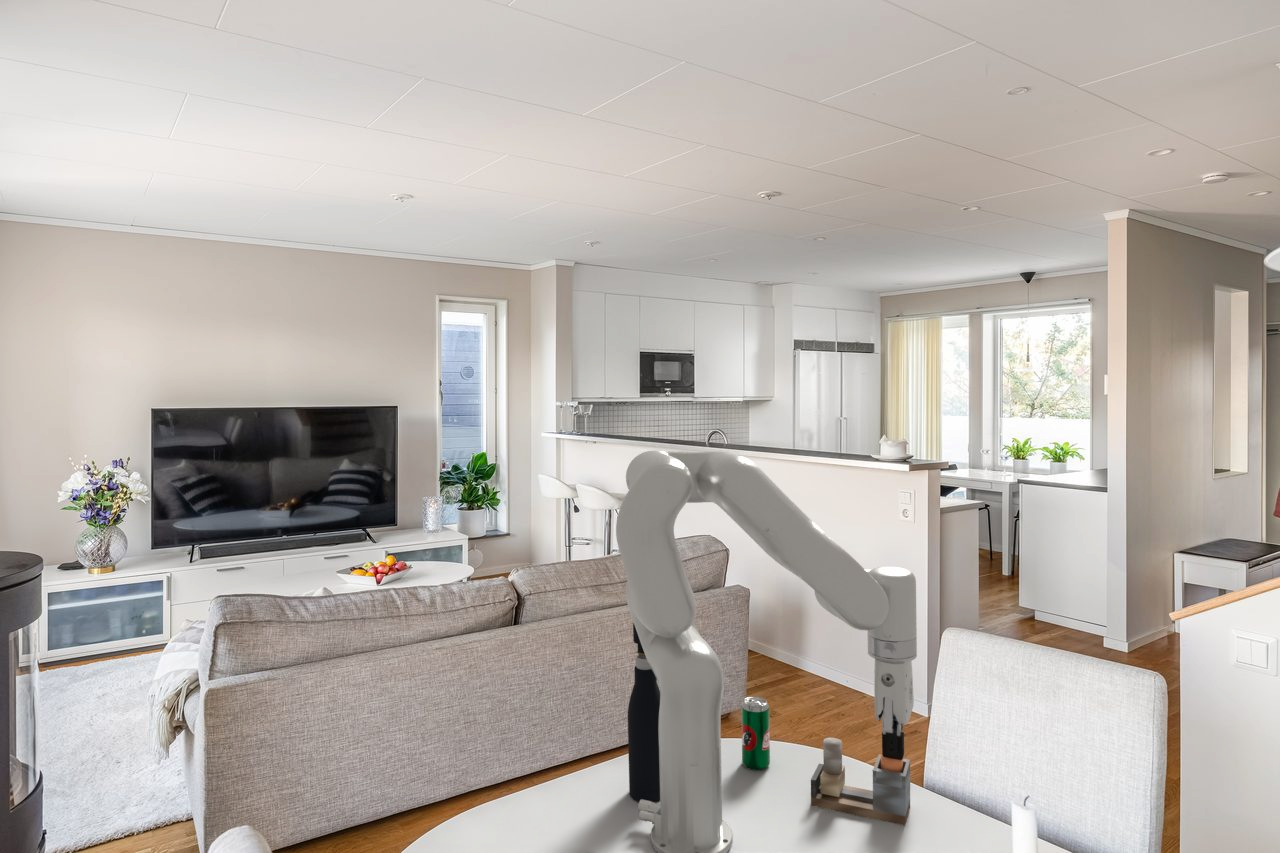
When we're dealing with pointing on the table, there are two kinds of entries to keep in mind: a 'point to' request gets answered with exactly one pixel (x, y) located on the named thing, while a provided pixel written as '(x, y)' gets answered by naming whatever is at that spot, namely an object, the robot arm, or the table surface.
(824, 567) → the robot arm
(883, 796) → the stand
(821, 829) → the table surface
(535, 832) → the table surface
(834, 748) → the carriage
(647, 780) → the wine bottle
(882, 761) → the button
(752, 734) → the soda can
